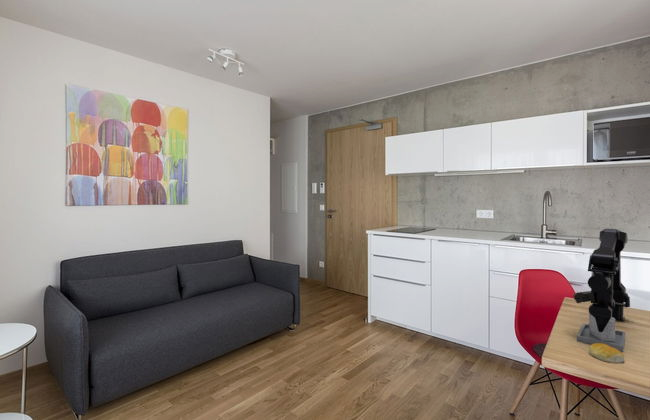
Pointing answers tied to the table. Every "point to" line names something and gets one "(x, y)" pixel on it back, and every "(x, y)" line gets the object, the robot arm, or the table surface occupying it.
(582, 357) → the table surface
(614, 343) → the tray
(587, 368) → the table surface
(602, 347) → the bread roll
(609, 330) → the medicine box
